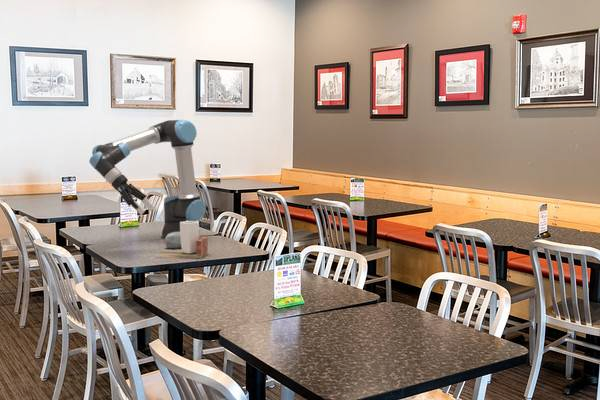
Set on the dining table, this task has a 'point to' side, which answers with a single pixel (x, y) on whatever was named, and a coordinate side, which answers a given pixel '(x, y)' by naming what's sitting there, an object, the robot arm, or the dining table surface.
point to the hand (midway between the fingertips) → (148, 211)
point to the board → (200, 252)
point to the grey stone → (173, 240)
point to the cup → (189, 236)
